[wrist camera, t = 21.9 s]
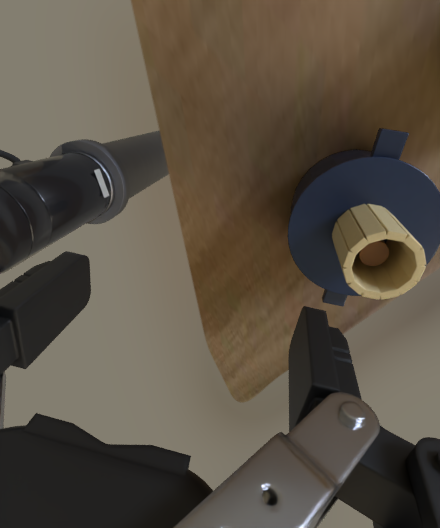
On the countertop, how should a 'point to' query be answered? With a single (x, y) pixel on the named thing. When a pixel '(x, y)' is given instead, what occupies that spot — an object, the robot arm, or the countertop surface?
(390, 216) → the pale yellow hollow cylinder
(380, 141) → the pot
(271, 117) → the countertop surface
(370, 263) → the pot lid
